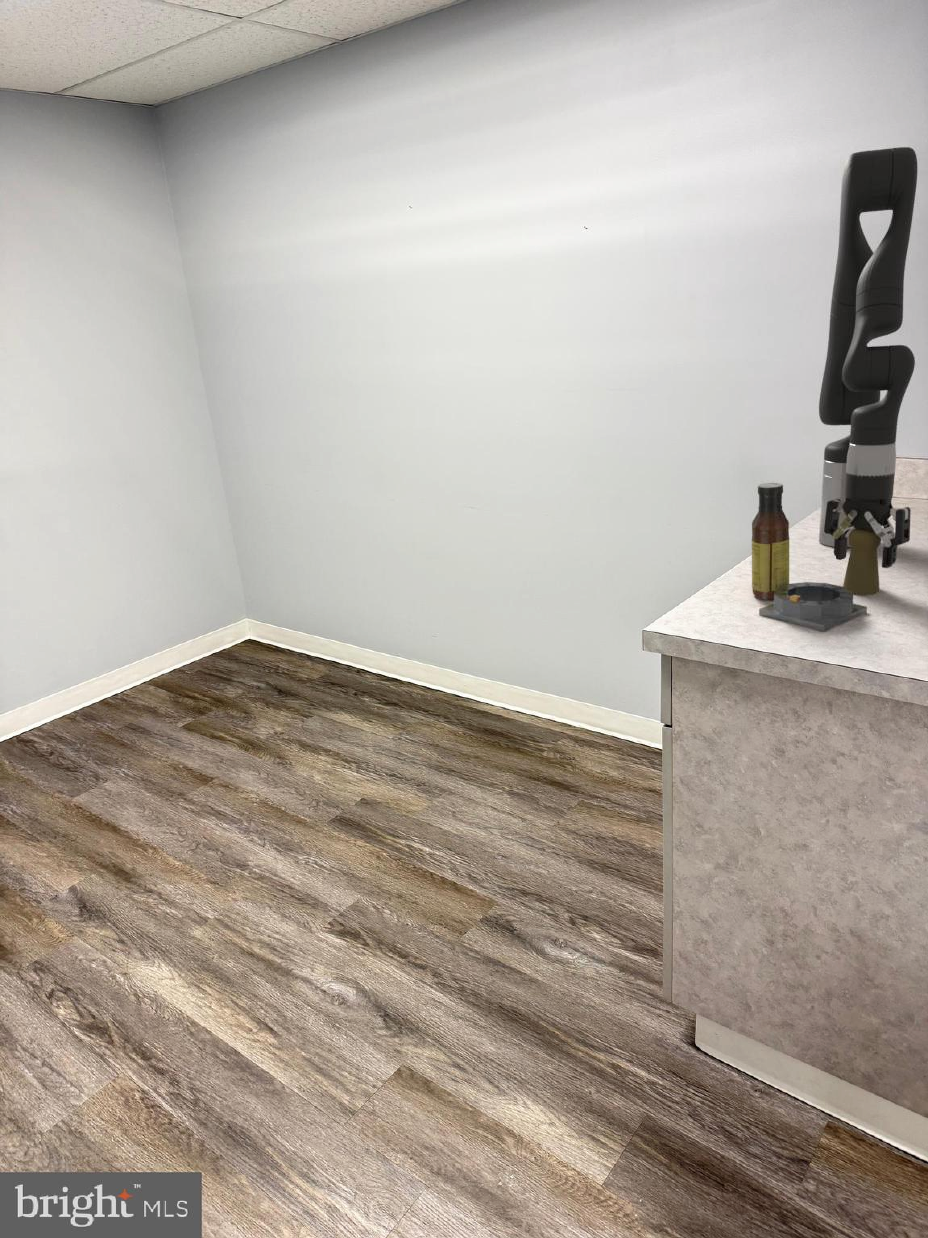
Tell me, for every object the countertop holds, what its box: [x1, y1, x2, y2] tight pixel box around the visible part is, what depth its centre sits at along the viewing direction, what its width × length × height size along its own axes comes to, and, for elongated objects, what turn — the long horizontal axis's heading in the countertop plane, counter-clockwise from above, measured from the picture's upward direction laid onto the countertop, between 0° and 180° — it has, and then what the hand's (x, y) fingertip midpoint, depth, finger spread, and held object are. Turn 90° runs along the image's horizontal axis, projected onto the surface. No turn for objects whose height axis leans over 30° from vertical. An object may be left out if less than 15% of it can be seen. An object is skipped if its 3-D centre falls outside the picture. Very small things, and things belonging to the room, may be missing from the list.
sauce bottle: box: [751, 482, 790, 601], centre depth 155 cm, size 6×6×20 cm
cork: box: [842, 528, 882, 596], centre depth 156 cm, size 6×6×11 cm
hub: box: [758, 581, 868, 633], centre depth 148 cm, size 12×12×4 cm
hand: (863, 562), depth 156 cm, fingers open, 8 cm apart
